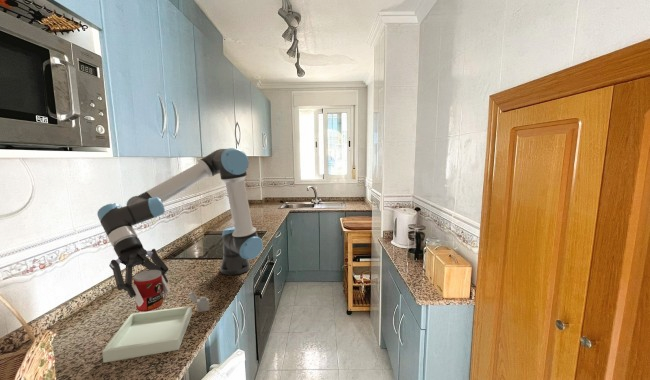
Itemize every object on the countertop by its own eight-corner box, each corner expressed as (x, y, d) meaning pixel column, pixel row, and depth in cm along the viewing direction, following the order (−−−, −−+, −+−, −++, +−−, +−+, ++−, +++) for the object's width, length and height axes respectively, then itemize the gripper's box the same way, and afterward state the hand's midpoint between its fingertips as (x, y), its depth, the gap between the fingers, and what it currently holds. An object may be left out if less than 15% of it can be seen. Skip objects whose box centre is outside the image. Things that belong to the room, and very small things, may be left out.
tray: (191, 314, 103) (191, 305, 103) (178, 349, 84) (178, 339, 84) (131, 322, 98) (131, 313, 97) (103, 362, 79) (102, 351, 78)
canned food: (150, 313, 85) (148, 280, 84) (129, 310, 87) (126, 278, 85) (169, 301, 92) (167, 270, 91) (149, 298, 94) (147, 268, 93)
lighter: (209, 308, 107) (208, 289, 107) (208, 310, 106) (207, 291, 105) (190, 310, 106) (188, 291, 105) (189, 313, 104) (187, 293, 103)
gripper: (153, 241, 104) (180, 290, 98) (86, 257, 86) (115, 319, 80) (160, 229, 101) (189, 280, 95) (92, 244, 83) (122, 307, 77)
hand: (155, 298), depth 87 cm, fingers closed on canned food, 8 cm apart
